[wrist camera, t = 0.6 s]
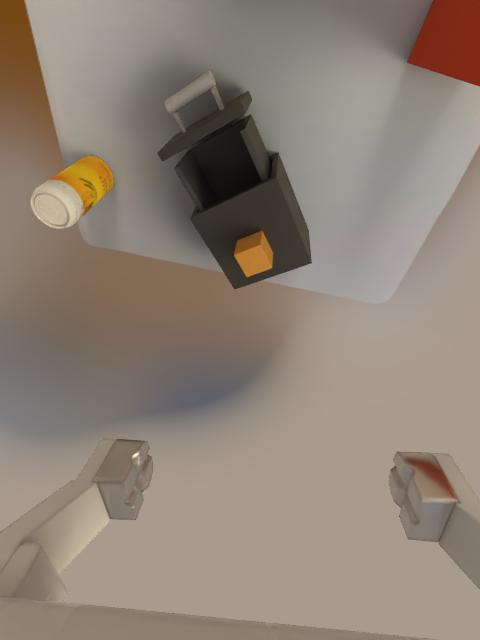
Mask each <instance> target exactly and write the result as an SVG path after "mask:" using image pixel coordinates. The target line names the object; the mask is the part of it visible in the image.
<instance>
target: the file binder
mask: <svg viewBox="0 0 480 640" xmlns="http://www.w3.org/2000/svg"><path fill="white" fill-rule="evenodd" d="M407 63H410V64H413V65H416V66H419V67H422V68H425V69H428V70H431V71H434V72H437V73H440V74H443V75H446V76H450V77H453V78H456V79H459V80H462V81H465V82H468V83H471V84H474V85H477V86H480V0H434V1H433V4H432V6H431V8H430V11H429V13H428V15H427V18H426V20H425V22H424V25H423V27H422V30H421V32H420V34H419V37H418V39H417V41H416V44H415V46H414V48H413V51H412V53H411V55H410V58H409V60H408V62H407Z"/></svg>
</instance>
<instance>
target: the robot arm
mask: <svg viewBox="0 0 480 640" xmlns="http://www.w3.org/2000/svg"><path fill="white" fill-rule="evenodd" d="M148 451H149V445H148V442H147V441H137V440H124V439H106V438H104V439H103V440H101V441H100V442H99V444H98V445H97V447H96V448H95V450H94V452H93V453H92V455H91V457H90V458H89V460H88V462H87V463H86V465H85V466H84V468H83V469H82V471H81V473H80V474H79V476H78V478H77V479H76V481H70V482H69V483H67V484H66V485H65V486H63V487H62V488H60V489H59V490H58V491H56V492H55V493H53V494H52V495H51V496H49V497H48V498H46V499H45V500H44V501H42V502H41V503H39V504H38V505H37V506H35V507H34V508H32V509H31V510H30V511H28V512H27V513H25V514H24V515H23V516H21V517H20V518H19V519H17V520H16V521H14V522H13V523H12V524H10V525H9V526H8V527H6V528H5V529H3V530H2V531H1V532H0V640H436V639H426V638H416V637H406V636H396V635H386V634H375V633H366V632H356V631H345V630H335V629H325V628H316V627H306V626H296V625H286V624H276V623H266V622H256V621H246V620H236V619H235V620H234V619H226V618H215V617H206V616H195V615H185V614H175V613H165V612H155V611H145V610H135V609H125V608H115V607H105V606H95V605H84V604H75V603H64V602H63V601H64V599H65V596H66V594H67V592H66V588H65V586H64V584H63V583H62V581H61V579H60V578H59V576H58V575H59V573H61V572H62V571H63V570H64V568H65V567H66V566H67V565H68V564H69V563H70V562H71V561H72V560H73V559H74V558H75V557H76V556H77V555H78V554H79V553H80V552H81V551H82V550H83V549H84V548H85V547H86V546H87V545H88V543H89V542H90V541H91V540H92V539H93V538H94V537H95V536H96V535H97V534H98V533H99V532H100V531H101V530H102V529H103V528H104V527H105V526H106V525H107V523H109V522H110V519H122V520H123V519H124V520H136V518H137V516H138V513H139V510H140V508H141V505H142V503H143V496H142V492H143V491H144V490H146V489H147V488H148V487H149V484H150V481H151V478H152V473H153V461H152V458H151V456H149V455H148V454H147V453H148ZM393 460H394V463H395V465H396V466H395V467H394V468H392V469H391V470H390V476H389V485H390V490H391V494H392V497H393V500H394V502H395V503H396V504H397V505H398V506H399V507H400V508H401V512H400V516H399V517H400V519H401V522H402V525H403V527H404V530H405V533H406V536H407V538H408V539H411V540H421V541H431V542H439V545H440V546H441V547H442V548H443V549H444V550H445V551H446V553H447V554H448V555H449V556H450V557H451V558H452V559H453V560H454V562H455V563H456V564H457V565H458V566H459V567H460V568H461V569H462V570H463V572H464V573H465V574H466V575H467V576H468V577H469V578H470V579H471V580H472V581H473V583H474V584H475V585H476V586H477V587H478V588H479V589H480V501H479V499H478V498H477V496H476V495H475V493H474V491H473V490H472V488H471V486H470V485H469V483H468V481H467V480H466V478H465V477H464V475H463V473H462V472H461V470H460V469H459V467H458V465H457V464H456V462H455V461H454V459H453V457H452V456H451V455H449V454H441V453H421V452H397V453H396V454H395V456H394V459H393Z"/></svg>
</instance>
